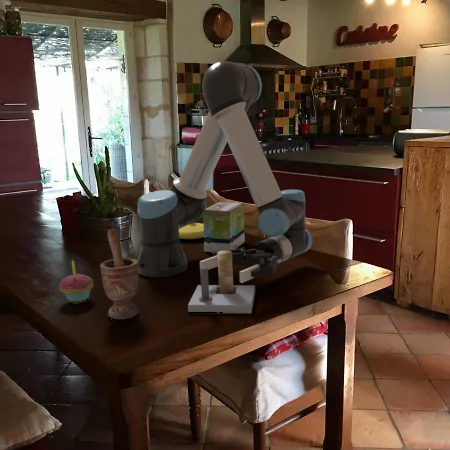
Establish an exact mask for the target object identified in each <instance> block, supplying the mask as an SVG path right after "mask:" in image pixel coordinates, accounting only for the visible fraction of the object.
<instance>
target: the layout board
mask: <svg viewBox="0 0 450 450" xmlns="http://www.w3.org/2000/svg"><path fill="white" fill-rule="evenodd" d="M199 273H200V284H198V285H197V286H196V288H195V290H194V293H193V294H192V297H191V298H190V300H189V303H188V304H187V309H188V310H187V313H188V312H217V313H216V314H220V313H219V312H223V313H222V314H252V313H253V312H252V311H253V306H254V302H255V295H256V285H246V284H245V285H241V284H240V285H239V284H237V285H234V284H233V290H234V294H219V284H217V285H216V284H214V285H213V284H212V285H211V284H209V283H210V282H209V270H208V268H207V267H201V268H200V267H199Z"/></svg>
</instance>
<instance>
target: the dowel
mask: <svg viewBox="0 0 450 450" xmlns="http://www.w3.org/2000/svg"><path fill="white" fill-rule="evenodd" d="M217 255H218V267H217V271H218V285H219V294H234V290H233V285H234V271H233V270H234V269H233V263H232V252H231V251H219V252H218V253H217Z"/></svg>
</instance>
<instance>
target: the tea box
mask: <svg viewBox="0 0 450 450" xmlns="http://www.w3.org/2000/svg"><path fill="white" fill-rule="evenodd" d="M202 218H203V219H202V221H203V223H202V224H203V225H204V237H203V250H204V252H207V253H213V252H219V251H227V250H234V249H238V248H239V247H240V246H241V245H242V244H244V243H245V206H244V202H230V201H229V202H226V201H218V202H216V203H214V204H212V205H211V206H209V207H206V209H205V212H204V214H203V215H202Z"/></svg>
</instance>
